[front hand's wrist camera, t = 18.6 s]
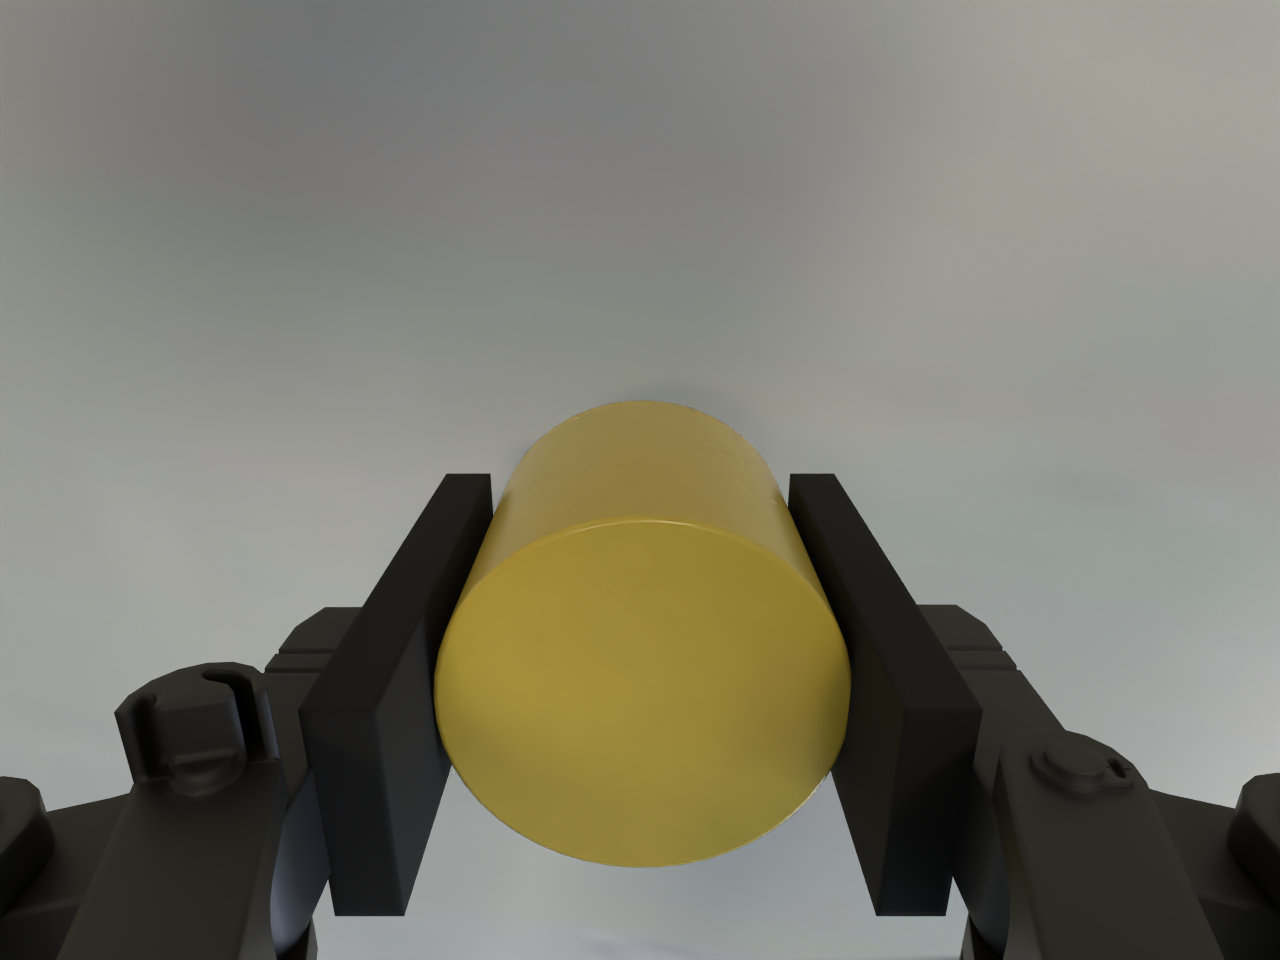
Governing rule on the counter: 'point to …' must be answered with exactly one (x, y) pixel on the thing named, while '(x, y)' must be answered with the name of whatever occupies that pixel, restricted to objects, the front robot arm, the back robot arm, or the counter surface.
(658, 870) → the counter surface
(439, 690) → the cylinder
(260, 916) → the front robot arm
